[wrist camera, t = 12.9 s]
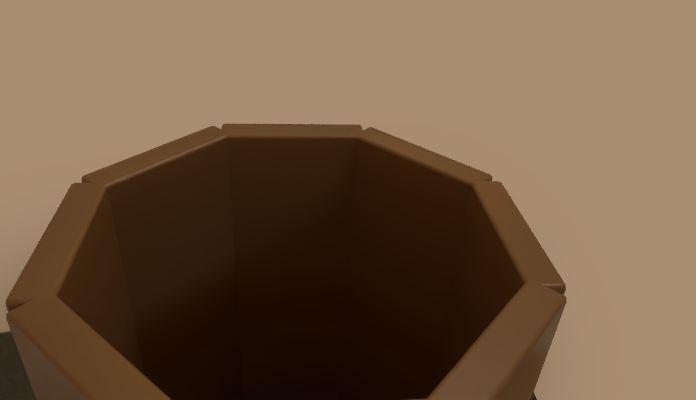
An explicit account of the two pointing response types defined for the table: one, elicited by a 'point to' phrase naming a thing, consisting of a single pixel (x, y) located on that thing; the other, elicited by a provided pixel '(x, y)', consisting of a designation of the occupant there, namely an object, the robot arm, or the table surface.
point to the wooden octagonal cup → (286, 275)
